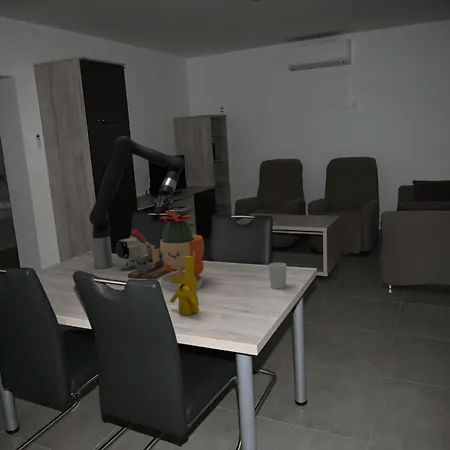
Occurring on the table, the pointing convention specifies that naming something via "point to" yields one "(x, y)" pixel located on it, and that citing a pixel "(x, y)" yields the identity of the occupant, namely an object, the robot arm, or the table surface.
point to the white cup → (277, 275)
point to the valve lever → (140, 237)
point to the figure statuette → (187, 290)
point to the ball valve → (130, 250)
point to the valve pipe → (149, 259)
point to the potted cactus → (180, 250)
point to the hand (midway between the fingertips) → (157, 214)
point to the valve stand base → (150, 273)
